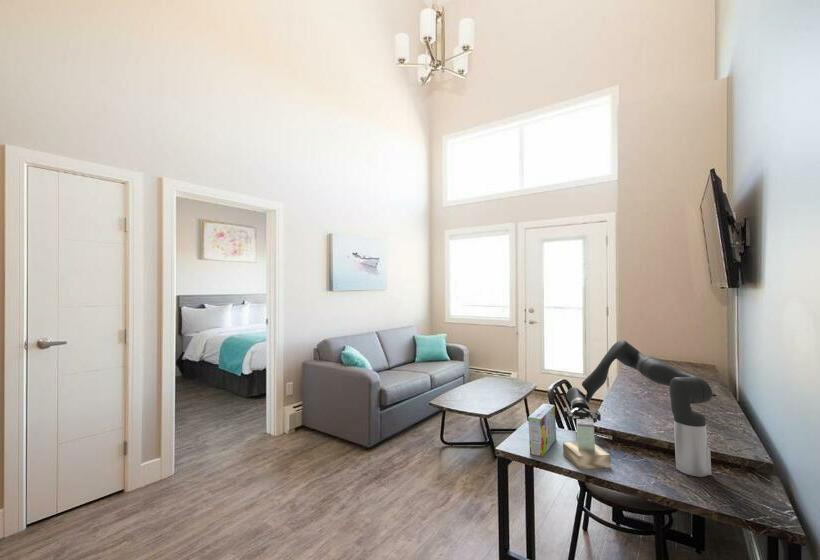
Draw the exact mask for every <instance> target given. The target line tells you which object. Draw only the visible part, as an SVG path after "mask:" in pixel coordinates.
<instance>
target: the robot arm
mask: <svg viewBox="0 0 820 560" xmlns="http://www.w3.org/2000/svg"><path fill="white" fill-rule="evenodd" d="M616 360H617V361H618V362H620V363H621V364H623V365H625V366H627V367H629V368H632V369H633V370H636V371H638V372H639V373H640V375H642V376H643V377H645V378H646V379H648V380H649V381H651V382H654V383H656V384H659V385H663V386H667V387H669V396H670V397H669V398H670V409H671V412H672V415H673V429H674V430H673V434H674V454H675V456H674V457H675V468H676V470H678V472H680V473H683V474H684V475H688V476H693V477H698V478H704V477H708V476H711V475H712V461H711V458H712V457H711V446H708V442H707V441H708V440H707V438H708V437H707V421H706V420H707V419H706V417H705V415H703V414H701V413H699V412H697V411H693V410H692V406H691V404H706V403H707V402H710V400H711V399H712V398H713V390H712V387H711V386H710V384H709V383H708V382H707V381H706V380H705V379H703V378H701V377H699V376H697V375H693V374H691V373H688V372H685V371H683V370H680V369H678V368H676V367H674V366H672V365H671V364H668V363H667V362H665V361H663V360H661V359H659V358H657V357H655V356H650V355H649V356H646V355H644V354H642V352H640V351H639V350H638V349H637V348H636V347H634V346H633V345H632V344H630V343H629V342H627V341H626V340H622V339H620V340H618V341H616V342H615V343H614V344H613V345H612V346H610V348H609V349H608V350H607V352H606V353H605V355H604V357H603V358H602V359H601V360H600V362H599V363H598V365H597V366H596V367H595V369H594V370H593V371H592V372H591V373H590V374H589V375H588V376H587V377H586V378H585V379H584V380H583V381H581V386H582V388H583V389H584V390H585V392H586V394H585V393H584V392H582V391H581V390H580V389H579V388H577V387H575V386H573V387H570V388H569V389H568V390H567V391H566V398H567V400H568V402H569V403H570V409H569V408H568V407H564V408H563V417H564V418H568V420H570V422H573V421H574V420H573V419H582V420H592V422H593V424H596V423H597V422H599V421H600V422H601V421H602V418H601V416H602V415H601V413H600V411H599V410H597V409H596V410H595V411H592V410H591V408H590V405H589V403H590V402H591V399H592V398H593V396H594V395H595V394H596V392H597V391H598V390H599V389H600V388H602V387H603V385H604V384H606V381H607V378H608V374H609V371H610V367H611V365H612V363H614V361H616Z"/></svg>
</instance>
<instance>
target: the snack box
mask: <svg viewBox="0 0 820 560" xmlns="http://www.w3.org/2000/svg"><path fill="white" fill-rule="evenodd" d="M527 420H528V421H527V422H528V441H529V455H532V456H537V457H541V458H543V457H544V456H545V454H546V453H547V451H549V449H550V448H551V447H552V445H553V444H554V443H555V441H556V440H557V428H556V427H557V425H556V423H557V421H556V407H555V404H550V403H542V404H541V405H540V406H539V407H538V408H536V410H534V411H533V413H531V414H530V415H529V416H528V417H527Z"/></svg>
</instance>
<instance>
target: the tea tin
mask: <svg viewBox="0 0 820 560" xmlns="http://www.w3.org/2000/svg"><path fill="white" fill-rule="evenodd" d="M575 420H576V442H577V446H578V450H579V451H588V452H595V444H596V442H595V441H596V440H595V423H593V420H589V419H578V418H575Z"/></svg>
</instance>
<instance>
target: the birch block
mask: <svg viewBox="0 0 820 560" xmlns="http://www.w3.org/2000/svg"><path fill="white" fill-rule="evenodd" d="M562 453H563V454H562V455H563V456H564V457H566V459H568V461H570V463H572V464H573V465H574V466H576V468H578V469H579V470H582V469H583V470H585V468H586V469H598V468H602V467H605V468H611V454H610V453H608V451H606V450H604V449H603V448H601V447H600V446H599V445H597V444H596V443H595V452H588V451H579V450H578V446H577V441H573V442H563V443H562Z"/></svg>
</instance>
